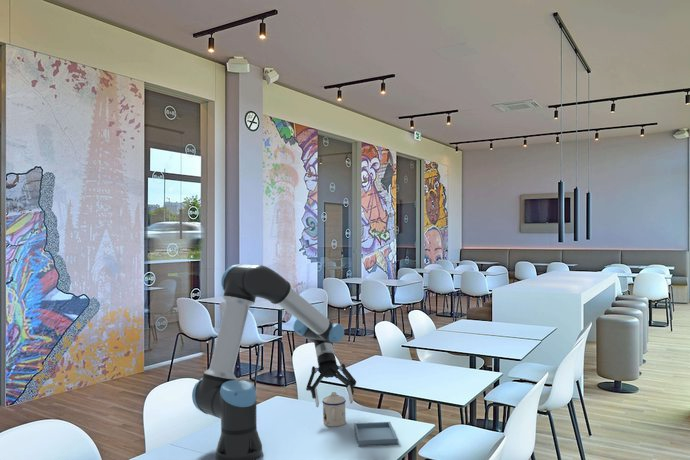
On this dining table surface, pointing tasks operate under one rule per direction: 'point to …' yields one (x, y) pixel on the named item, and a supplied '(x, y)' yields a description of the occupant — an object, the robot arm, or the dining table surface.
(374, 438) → the slate tray
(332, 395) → the teacup with lid
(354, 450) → the dining table surface
